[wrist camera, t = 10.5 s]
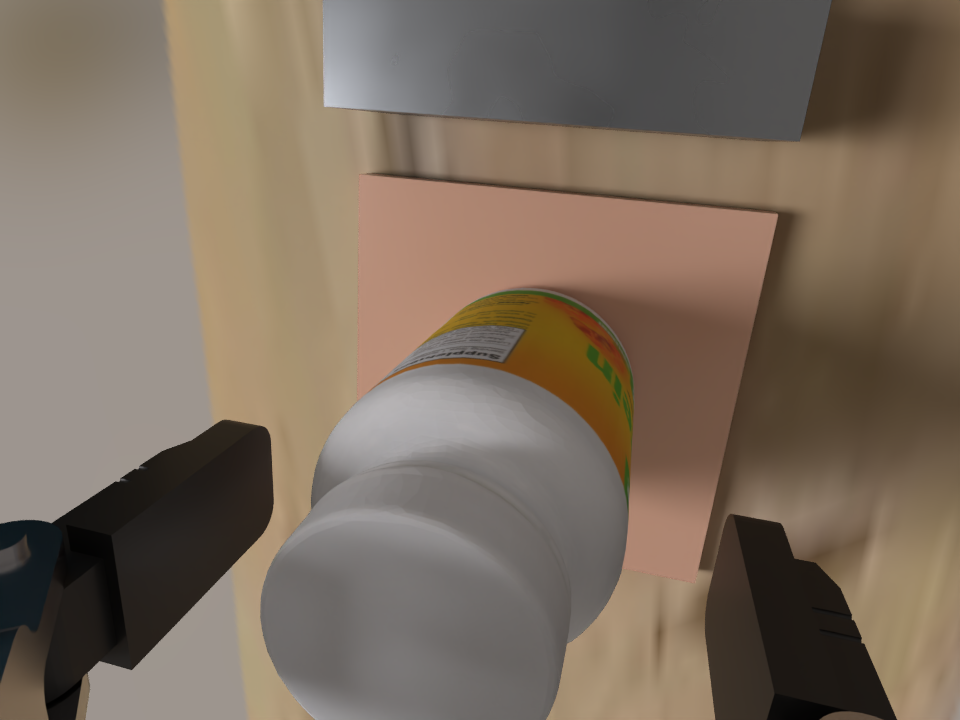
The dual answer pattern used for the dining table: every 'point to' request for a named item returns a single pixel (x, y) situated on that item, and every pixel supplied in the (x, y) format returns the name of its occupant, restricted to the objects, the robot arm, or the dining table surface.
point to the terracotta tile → (603, 288)
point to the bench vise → (581, 62)
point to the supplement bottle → (461, 521)
